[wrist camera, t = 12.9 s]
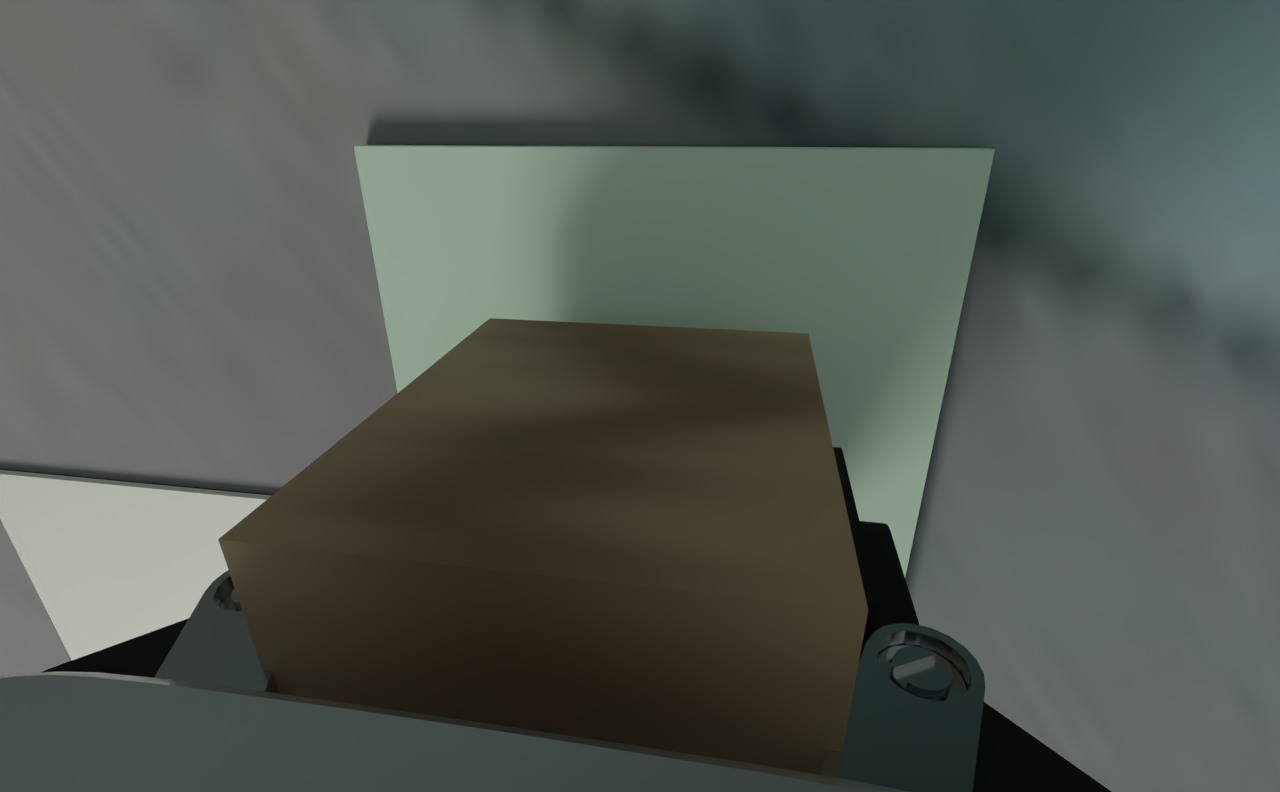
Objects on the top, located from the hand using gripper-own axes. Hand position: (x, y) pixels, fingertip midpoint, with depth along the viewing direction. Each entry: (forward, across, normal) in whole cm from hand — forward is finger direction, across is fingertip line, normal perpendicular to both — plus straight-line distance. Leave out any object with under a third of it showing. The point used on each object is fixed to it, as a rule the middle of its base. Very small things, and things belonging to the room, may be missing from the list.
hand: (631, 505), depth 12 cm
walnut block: (+1, 0, 0) cm, 1 cm away
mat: (+3, 0, 0) cm, 3 cm away
